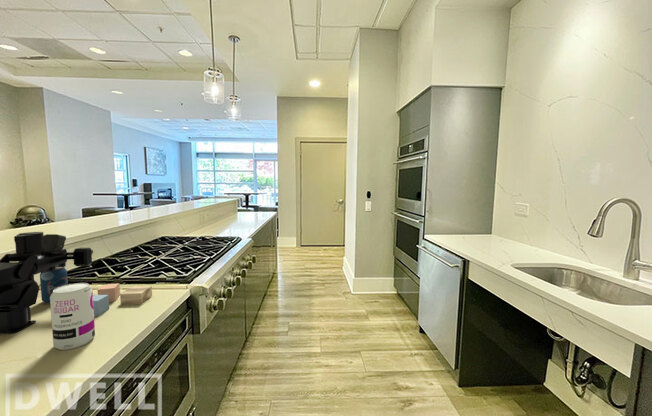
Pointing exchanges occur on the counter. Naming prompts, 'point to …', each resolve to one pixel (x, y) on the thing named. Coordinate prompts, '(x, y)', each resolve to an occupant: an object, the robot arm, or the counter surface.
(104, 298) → the slate cube
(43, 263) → the robot arm
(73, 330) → the supplement can
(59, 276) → the soda can
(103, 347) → the counter surface
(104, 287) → the terracotta cube
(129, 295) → the oak block
